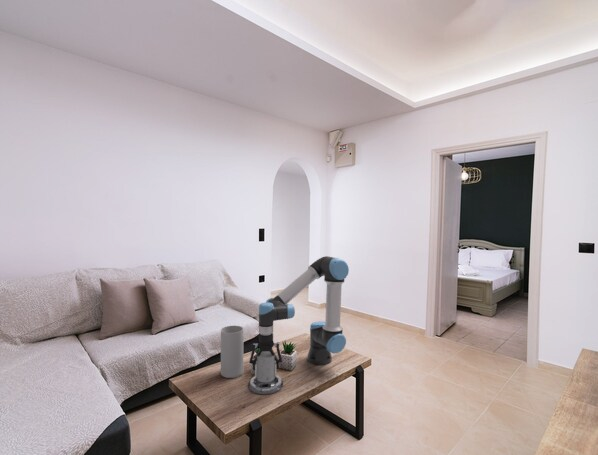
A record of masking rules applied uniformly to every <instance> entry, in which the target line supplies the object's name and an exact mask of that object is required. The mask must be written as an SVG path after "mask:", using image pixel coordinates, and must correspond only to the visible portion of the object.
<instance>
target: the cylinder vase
mask: <svg viewBox="0 0 598 455" xmlns="http://www.w3.org/2000/svg"><path fill="white" fill-rule="evenodd" d="M243 373H244V327H243V326H240V325H227V326H224V327H221V329H220V375H221V376H222V377H224V378H227V379H235V378H238V377H240V376H242V374H243Z"/></svg>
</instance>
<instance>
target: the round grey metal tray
mask: <svg viewBox="0 0 598 455" xmlns="http://www.w3.org/2000/svg"><path fill="white" fill-rule="evenodd" d="M283 387H284V381H283V380H282V377H280V376H279V375H278V374H276V376H275V379H274V380H272V381H270V382H260V381H258V380H257V377H255V375H253V377H251V379H250V381H249V382H248V390H249V391H250V392H251V393H253V394H256V395H258V396H259V395H261V396H268V395H273V394H277V393H278V392H280V391H282V388H283Z"/></svg>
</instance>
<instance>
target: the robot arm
mask: <svg viewBox="0 0 598 455" xmlns="http://www.w3.org/2000/svg"><path fill="white" fill-rule="evenodd" d="M349 268H350V267H349V264H348V263H347V262H346V261H345V260H344V259H341V258H339V257H333V256H327V255H326V256H321V257H320V258H318V259H316V260H315V261H314V262H312V263H311V264H310V265H309V266H308V268H307V269H306V270H305V271H304V272H302V274H301V275H300V276H298V277H297V278H296V279H294V280H293V281H292V282H291V283H290V284H289V285H287V286H286V287H285V288H284V289H283V290H282V291H280V292H279V293H278V294H277V295H275V297H270V298H268V299H266V301H265V302H261V303H260V304H259V306H258V342H257V343H255V342H253V343H252V350H251V354H250V358H249V364H252V371H254V376H255V377H257V356H260V354H261V353H262V351H263V352H265V351H270V353H271V354H272V356H274V355H275V376H276V375H277V370H279V364H280V363H283V358H282V355H281V350H280V343H279V342H278V341H277V342H275V341H274V322H275V321H282V320H288V319H293V318H294V317H295V314H296V313H295V312H296V311H295V310H296V309H295V307H294V305H293V304H292V303H290V302H291V301H292V300H293V299H294V298H296V297H297V296H298V295H299V294H300V293H301V292H303V290H305V289H306V288H308V286H310V285H311V284H312V283H313V282H315V280H319V279H320V278H322V277H324V279H323V281H324V282H325V283H326V296H325V297H326V298H325V299H326V301H325V321H323V320H321V321H315V322H312V323H311V324H310V326H309V327H310V328H309V331H310V332H309V334H310V336H309V340H310V341H309V349H308V353H307V361H308V362H309V363H310V364H313V365H320V366H322V365H323V366H324V365H327V364H330V363H331V362H332V359H333V358H332V357H333V356H332V354H338V353H339V354H340V353H341V352H342V351H343V350H344V349H345V347H346V344H347V338H346V337H345V335H344V334H343V327H342V326H341V313H342V312H341V310H342V307H341V306H342V286H343V283H345V280H346V278H347V276H349V271H350V270H349ZM257 347H258V348H259V350H258V351H257V353H256V355H255V357H254V354H255V352H256V349H257ZM273 347H274V348H276V351H277V352H276V353H277V354H276V353H275V350H274V349H273ZM277 356H278V357H277Z"/></svg>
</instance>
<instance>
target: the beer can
mask: <svg viewBox="0 0 598 455" xmlns="http://www.w3.org/2000/svg"><path fill="white" fill-rule="evenodd" d="M275 355H276V354H275ZM275 355H274V356H272V354H271V353H270V351H265V352H263V351H262V353H261V354H260V356H257V361H256V362H257V380H258V381H260V382H270V381H272V380H274V379H275V362H276V361H275Z"/></svg>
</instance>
